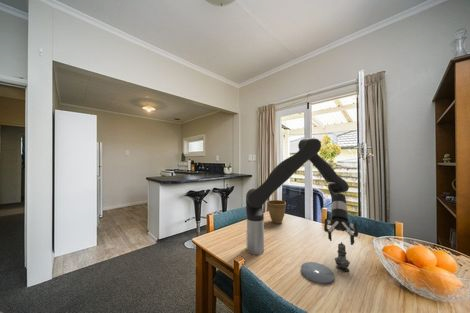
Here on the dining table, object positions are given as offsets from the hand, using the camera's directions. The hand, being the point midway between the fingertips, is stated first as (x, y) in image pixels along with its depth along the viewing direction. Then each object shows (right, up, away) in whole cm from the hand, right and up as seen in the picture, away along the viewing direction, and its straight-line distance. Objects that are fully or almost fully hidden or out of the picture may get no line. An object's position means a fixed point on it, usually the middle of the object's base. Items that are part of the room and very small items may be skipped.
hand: (341, 242), depth 82 cm
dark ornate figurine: (-2, -10, -4) cm, 11 cm away
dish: (-15, -10, -7) cm, 19 cm away
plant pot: (-17, -12, +56) cm, 59 cm away
